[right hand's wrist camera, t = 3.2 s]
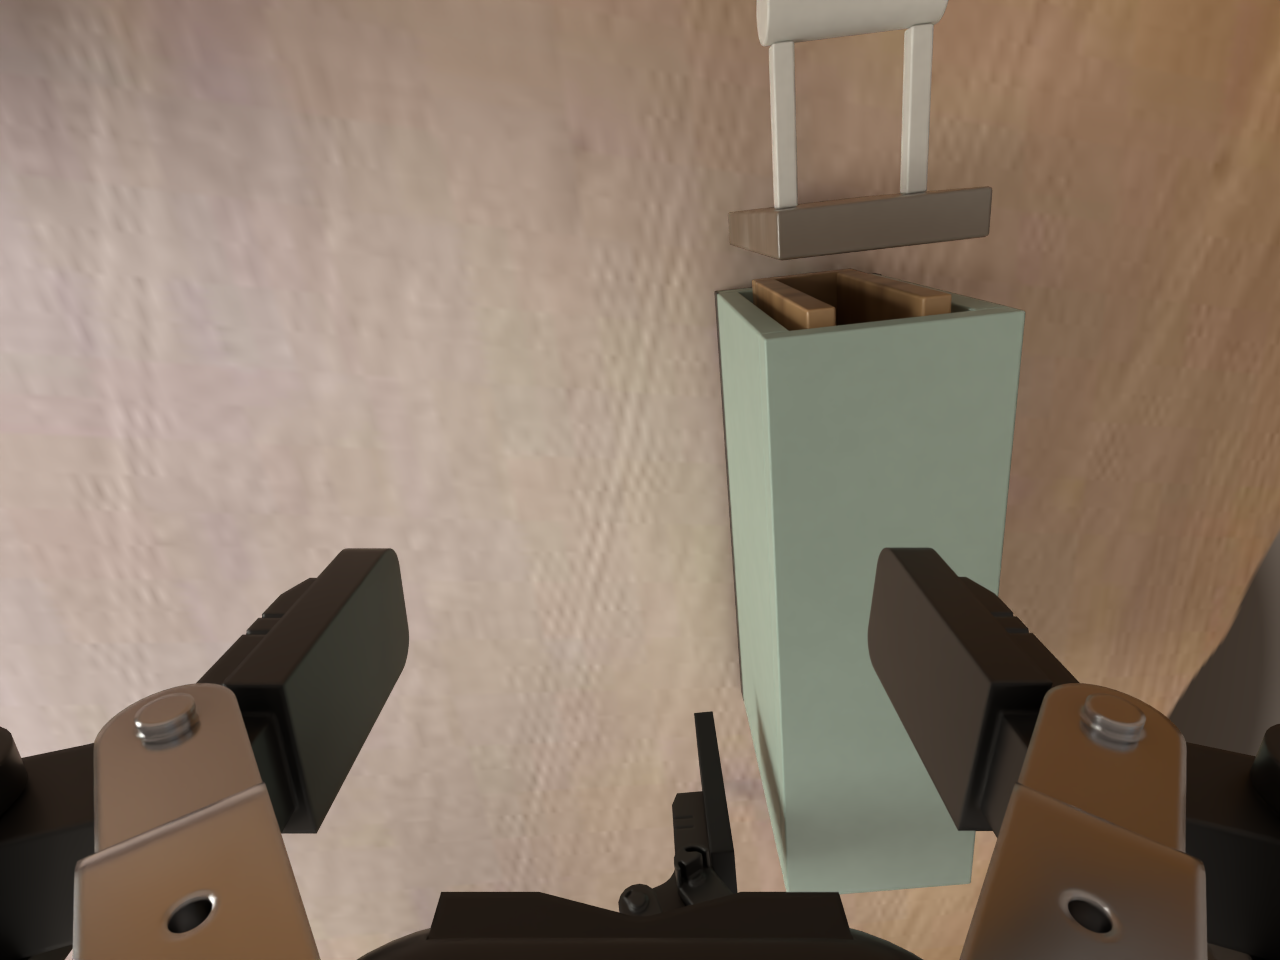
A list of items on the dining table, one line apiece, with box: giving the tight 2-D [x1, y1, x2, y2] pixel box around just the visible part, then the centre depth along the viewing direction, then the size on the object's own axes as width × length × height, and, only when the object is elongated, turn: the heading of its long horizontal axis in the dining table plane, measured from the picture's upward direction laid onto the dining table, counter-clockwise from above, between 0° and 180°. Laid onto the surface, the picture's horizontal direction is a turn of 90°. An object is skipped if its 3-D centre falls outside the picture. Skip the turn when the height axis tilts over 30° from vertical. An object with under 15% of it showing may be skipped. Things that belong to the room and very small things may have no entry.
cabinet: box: [715, 273, 1025, 894], centre depth 26 cm, size 20×7×12 cm, turn 6°
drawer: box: [728, 0, 992, 331], centre depth 24 cm, size 25×5×10 cm, turn 6°
